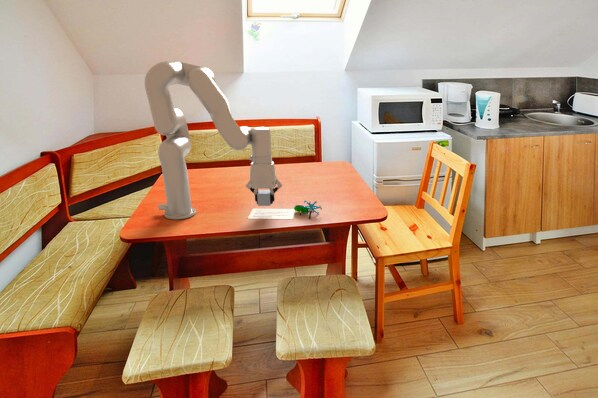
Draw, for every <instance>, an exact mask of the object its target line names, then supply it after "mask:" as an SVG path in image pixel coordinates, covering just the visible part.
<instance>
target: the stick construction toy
mask: <svg viewBox="0 0 598 398" xmlns="http://www.w3.org/2000/svg"><path fill="white" fill-rule="evenodd" d="M317 202H318V201H317V200H316V201H314V202H313V203H311V201H306V200H304V201H303V203H304V204H305V203H306V204H307V205H306V206H304V205H303V204H297V205H295V206H294V208H293V209H294V210H295V212H299V216H302V214H308V220H311V217H312V214H313V213H315V214H316V215H319V211H316V210H317V209H320V210H322V207H321V205H319V206H317V205H315V204H317Z"/></svg>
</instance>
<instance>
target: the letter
mask: <svg viewBox="0 0 598 398" xmlns="http://www.w3.org/2000/svg"><path fill="white" fill-rule="evenodd" d="M295 213H296V211H295V210H294V208H252V210H251V211H250V213H249V215H248V217H247V220H294V216H295Z"/></svg>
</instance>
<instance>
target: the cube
mask: <svg viewBox="0 0 598 398" xmlns="http://www.w3.org/2000/svg"><path fill="white" fill-rule="evenodd" d="M270 194H271V192H270V189H258V193H257V200H258V204H257V206H258V207H264V206H265V207H271V205H272V204H271V202H270Z"/></svg>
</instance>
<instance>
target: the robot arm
mask: <svg viewBox="0 0 598 398" xmlns="http://www.w3.org/2000/svg"><path fill="white" fill-rule="evenodd" d="M144 78H145V79H144V89H145V93H146V97H147V100H148V104H149V110H150V113H151V118H152V121H153V126H154V129H155V131H156V132H157V133H158V134H160V135H161V136H166V138H165V139H164V140H163V141H162V142H161V144H159V147H158V149H157V150H158V151H157V152H158V153H157V155H158V159H159V162H160V163H159V164H160V166H161V171H162V177H163V183H164V192H165V198H166V203H165V204H164V203H159V204H157V207H158V210H159V211H164V217H165V218H166V219H168V220H176V221H177V220H184V219H189V218H191V217H193V216H194V215H196V213H197V210H196V208H195V207H194V206H192V199H191V198H192V197H191V189H190V182H189V174H188V169H187V167H188V166H187V164H186V161H185V157H186V156H187V155H188V154H190V152H191V149H192V141H191V140H192V139H191V136H190V132H189V128H188V124H187V123H188V122H187V119H186V116H185V115H184V113H183V112H182V110H181V109H179V108H177V107H175V106H174V103H173V98H172V95H171V93H170V90H169V88H170V86H171V85H181V86H186V87H189V88H190V91H192V93H193V94H194V96H196V98H197V99H198V101H199V102H200V103H201V104H202V106H203V107H204V109H205V110H206V111H207V113H208V114H209V116H210V118H211V121H212V123H213V125H214V126H215V128H216V129H217V132H218V133H219V135H220V136H221V137H222V139H223V140H224V141H225V142H226V144H227V145H228V146H229V147H230V148H231V149H232V150H234V151H242V150H244V149H246V148H247V147H248V146H250V145H251V156H248V160H249V161H251V163H250V166H249V167H250V169H249V181H248V182H247V184H245V188H247V189H248V190H250V192H252V193H253V195H254V201H255V202H256V205H258V200H257V193H258V191H259V190H270V192H271V194H270V202H271V205H272V204H274V202H275V193H276V192H278V190H280V189H281V188H282V187H283V184H282V183H281V181H280V180H279V179H278V178H277V173H276V167H275V166H276V165H275V162H274V161H273V155H272V140H271V137H272V136H271V130H270V128H269V127H265V126H257V127H249V126H239V125H238V123H237V122H236V120H235V119H234V117H233V115H232V113H231V109H230V104H229V100H228V99H227V97H226V96H225V95H224V93H223V92H222V91H221V89H220V88H219V87H218V85H217V84H216V83H215V82H216V80H215V79H216V78H215V75H214V73H213V71H212V70H211V69H209V68H208V67H205V66H199V65H195V64H191V63H187V62H183V61H178V60H165V61H164V60H163V61H159V62H158V63H156V64H154V65H152V66H151V67H150V68H149V69H148V71H147V73H145V77H144Z"/></svg>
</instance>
